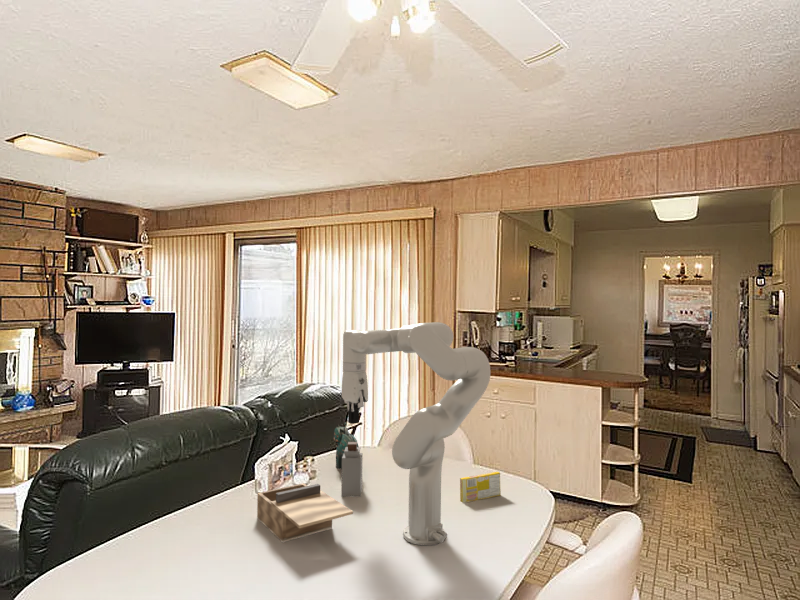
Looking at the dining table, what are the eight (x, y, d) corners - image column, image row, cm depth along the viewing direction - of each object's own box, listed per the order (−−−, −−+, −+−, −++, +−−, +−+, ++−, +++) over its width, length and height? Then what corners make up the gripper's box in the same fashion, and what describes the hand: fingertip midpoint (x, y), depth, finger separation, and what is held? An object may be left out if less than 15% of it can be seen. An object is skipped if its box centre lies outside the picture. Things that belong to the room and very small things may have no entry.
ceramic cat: (331, 466, 217) (332, 418, 217) (346, 464, 220) (346, 417, 220) (349, 481, 199) (350, 429, 200) (365, 479, 202) (365, 427, 202)
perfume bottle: (360, 496, 184) (360, 445, 184) (341, 496, 184) (341, 445, 184) (362, 489, 191) (362, 440, 191) (343, 489, 191) (344, 440, 191)
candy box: (497, 493, 188) (497, 471, 188) (500, 495, 187) (501, 472, 187) (459, 501, 181) (459, 477, 181) (462, 503, 179) (463, 479, 179)
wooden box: (332, 528, 158) (332, 502, 158) (282, 542, 149) (282, 514, 149) (303, 506, 174) (303, 483, 174) (257, 518, 165) (257, 493, 165)
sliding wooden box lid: (352, 514, 149) (352, 502, 149) (299, 528, 139) (299, 516, 139) (320, 492, 165) (320, 482, 165) (270, 504, 155) (270, 493, 155)
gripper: (376, 369, 168) (375, 425, 168) (352, 364, 180) (351, 417, 180) (356, 370, 164) (355, 429, 163) (333, 365, 176) (332, 420, 176)
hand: (353, 422), depth 172 cm, fingers closed
